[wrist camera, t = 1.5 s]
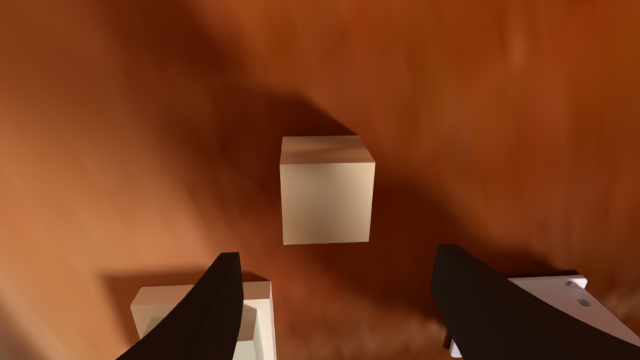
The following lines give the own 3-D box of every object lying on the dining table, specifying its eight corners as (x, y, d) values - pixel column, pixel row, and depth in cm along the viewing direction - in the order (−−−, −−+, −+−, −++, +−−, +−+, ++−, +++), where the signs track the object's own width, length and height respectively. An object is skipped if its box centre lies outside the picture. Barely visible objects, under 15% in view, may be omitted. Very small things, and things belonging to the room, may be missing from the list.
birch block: (358, 135, 20) (375, 162, 16) (354, 201, 22) (368, 241, 17) (282, 136, 19) (279, 164, 15) (285, 203, 21) (283, 244, 17)
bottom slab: (271, 273, 24) (269, 298, 22) (277, 358, 28) (276, 386, 26) (145, 279, 24) (129, 306, 21) (168, 365, 27) (157, 395, 25)
